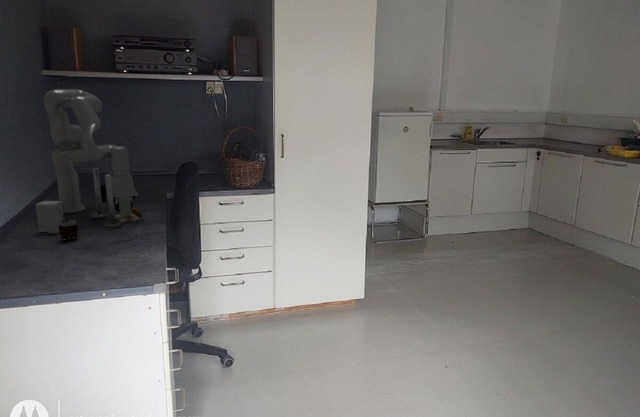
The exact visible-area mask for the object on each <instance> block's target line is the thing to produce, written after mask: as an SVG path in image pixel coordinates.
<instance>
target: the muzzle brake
mask: <svg viewBox="0 0 640 417" xmlns="http://www.w3.org/2000/svg"><path fill="white" fill-rule="evenodd" d="M111 176H112V175H111ZM100 192H101V199H103V200H106V201H107V198H106V196H107V191H106V181H105V180H104V181H103V182H102V184H100ZM113 199H114V197H113Z"/></svg>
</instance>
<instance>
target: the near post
mask: <svg viewBox="0 0 640 417" xmlns="http://www.w3.org/2000/svg"><path fill="white" fill-rule="evenodd" d="M104 181H106V191H107V200H106V201H107V209H108V210H107V211H108V212H107V213H108V222H104V224H103V225H104V226H103V227H105V228H116V229H119V228H121V227H122V223H121V222H119V221H116V219H115V215H116V214H115V203H114V202H113V199H114V198H113V193H112V182H111V174H109V173H105V174H104ZM105 228H104V229H105Z"/></svg>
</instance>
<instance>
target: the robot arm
mask: <svg viewBox="0 0 640 417" xmlns="http://www.w3.org/2000/svg"><path fill="white" fill-rule="evenodd" d="M43 103H44V108H45V111H46V113H47V116H48V121H49V127H50V133H51V138H52V139H51V140H52V141H53V143H54V144H55V145H56V146H57V145H58V146H68V145H71V147H62V148H57V149H56V150H54V151H53V152H52V153H51V160H52V163H53V166H54V169H55V170H54V171H55V175H56V181H57V182H56V183H57V189H58V197H59V198H58V199H59V201H61V202H62V210H63V214H73V213H74V214H75V213H80V212H83V211H84V210H86V206H84V205H82V198H81V190H80V181H79V175H78V172H77V171H76V169H75V168H74V167H76V166H77V167H78V166H82V165H86V164H87V163H89V160H91V161H92V162H94V163H96V164H97V163H105V162H111V170H110V171H108V174H111V175H112V176H111V182H112V193H113V197H114V198H113V203H114V211H116V212H120V210H119V204H118V198H122V197H130V203H131V211H132V210H133V208H134V206H133V201H135V199H136V198H137V197H139V195H140V194H139V192H138V191H137V190H136V189H135V185H134V180H133V176H132V174H130V165H129V164H130V163H129V152H128V148H127V147H126V146H121V145H119V146H118V145H115V144H104V145H103V144H102V145H97V144H96V142H95V140H94V137H93V135H94V134H93V133H95V132H96V131H97V130H99V129H100V127H101V126H102V122H101V120H100V118H99V117H98V115H97V114H99V113H100V112H101V111H102V110H103V103H102V101H101V100H100V98H99V97H97V96H96V95H94V94H92V93H89V92H87V91H85V90H83V89H82V90H81V89H77V88H76V89H75V88H73V89H72V88H67V89H66V88H57V89H51V90H48V91H47V92H46V93H45V94H44V98H43ZM63 108H71V110H72V111H73V114H74V115H75V118H76V119H77V121H78V124H70V119H69V115H68V113H67V112H66V111H65V110H64V109H63ZM79 124H80V125H79ZM106 198H107V196H106Z"/></svg>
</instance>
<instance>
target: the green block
mask: <svg viewBox="0 0 640 417" xmlns="http://www.w3.org/2000/svg"><path fill="white" fill-rule="evenodd" d="M118 204H119V210H120V212H117V211H116V212H117V213H116V215H120V216H125V215H131V213H132V210H131V203H130V197H122V198H118Z"/></svg>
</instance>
